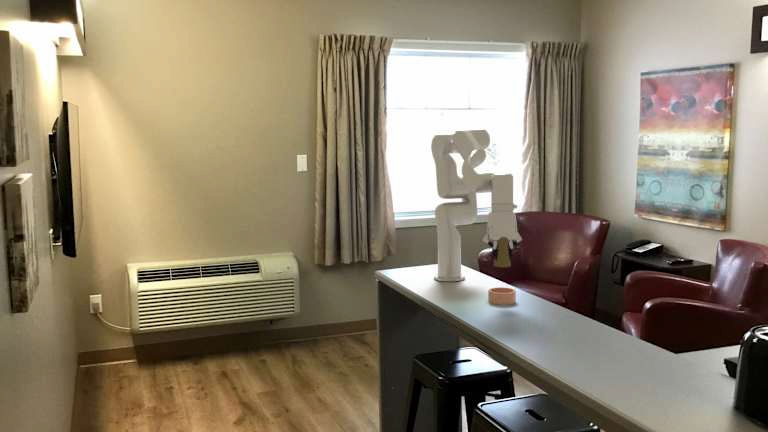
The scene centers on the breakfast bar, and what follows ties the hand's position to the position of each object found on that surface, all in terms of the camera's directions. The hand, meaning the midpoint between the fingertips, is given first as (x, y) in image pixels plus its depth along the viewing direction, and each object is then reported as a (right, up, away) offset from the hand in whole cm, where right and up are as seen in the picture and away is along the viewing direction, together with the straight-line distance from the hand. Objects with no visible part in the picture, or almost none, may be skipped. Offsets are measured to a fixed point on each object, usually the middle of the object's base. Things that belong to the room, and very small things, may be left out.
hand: (502, 259), depth 244 cm
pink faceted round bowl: (0, -15, +2) cm, 15 cm away
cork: (0, -3, 0) cm, 2 cm away
